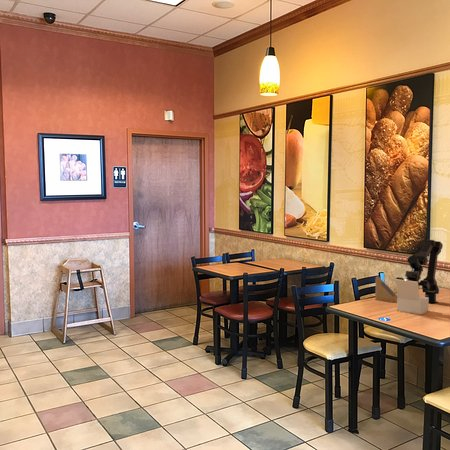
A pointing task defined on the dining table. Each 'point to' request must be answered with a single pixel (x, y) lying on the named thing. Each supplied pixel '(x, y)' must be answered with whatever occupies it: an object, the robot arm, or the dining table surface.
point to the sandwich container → (384, 292)
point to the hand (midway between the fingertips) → (408, 295)
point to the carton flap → (407, 289)
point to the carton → (413, 305)
